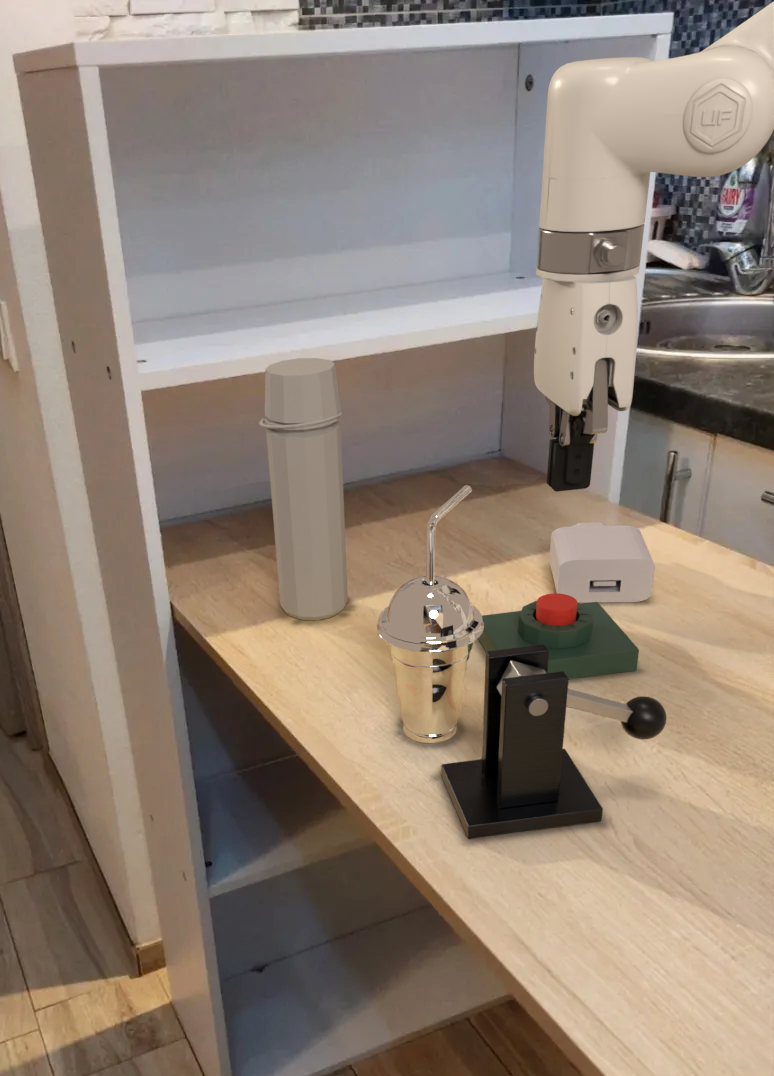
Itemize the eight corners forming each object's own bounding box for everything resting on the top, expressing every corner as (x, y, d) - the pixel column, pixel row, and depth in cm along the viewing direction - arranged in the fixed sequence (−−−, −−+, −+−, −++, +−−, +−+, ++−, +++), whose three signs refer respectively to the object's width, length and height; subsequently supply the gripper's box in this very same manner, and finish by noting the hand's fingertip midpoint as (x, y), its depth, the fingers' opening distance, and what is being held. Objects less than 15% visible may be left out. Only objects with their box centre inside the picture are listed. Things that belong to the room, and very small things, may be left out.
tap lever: (641, 728, 78) (663, 694, 77) (659, 752, 76) (682, 716, 74) (491, 688, 75) (510, 651, 73) (504, 711, 72) (524, 673, 71)
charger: (627, 543, 116) (650, 602, 104) (544, 544, 118) (556, 603, 105) (632, 503, 114) (656, 559, 101) (546, 505, 115) (559, 560, 103)
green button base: (595, 621, 101) (599, 584, 99) (636, 670, 93) (641, 631, 91) (476, 635, 101) (477, 599, 99) (506, 686, 92) (508, 647, 90)
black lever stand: (563, 760, 82) (575, 629, 76) (601, 821, 75) (617, 683, 69) (441, 776, 82) (442, 645, 75) (468, 839, 75) (471, 701, 69)
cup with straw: (362, 717, 90) (354, 499, 79) (453, 691, 92) (456, 476, 82) (409, 767, 83) (406, 536, 72) (505, 737, 85) (516, 510, 75)
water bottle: (364, 609, 107) (356, 365, 94) (301, 631, 104) (283, 382, 91) (317, 580, 114) (303, 349, 101) (256, 600, 111) (234, 364, 98)
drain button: (567, 608, 96) (569, 591, 96) (581, 625, 93) (583, 608, 92) (530, 612, 96) (531, 595, 95) (543, 629, 93) (544, 612, 92)
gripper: (682, 263, 71) (648, 514, 81) (598, 234, 84) (578, 454, 93) (576, 273, 70) (555, 524, 80) (508, 243, 83) (497, 463, 93)
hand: (567, 486), depth 87 cm, fingers closed
